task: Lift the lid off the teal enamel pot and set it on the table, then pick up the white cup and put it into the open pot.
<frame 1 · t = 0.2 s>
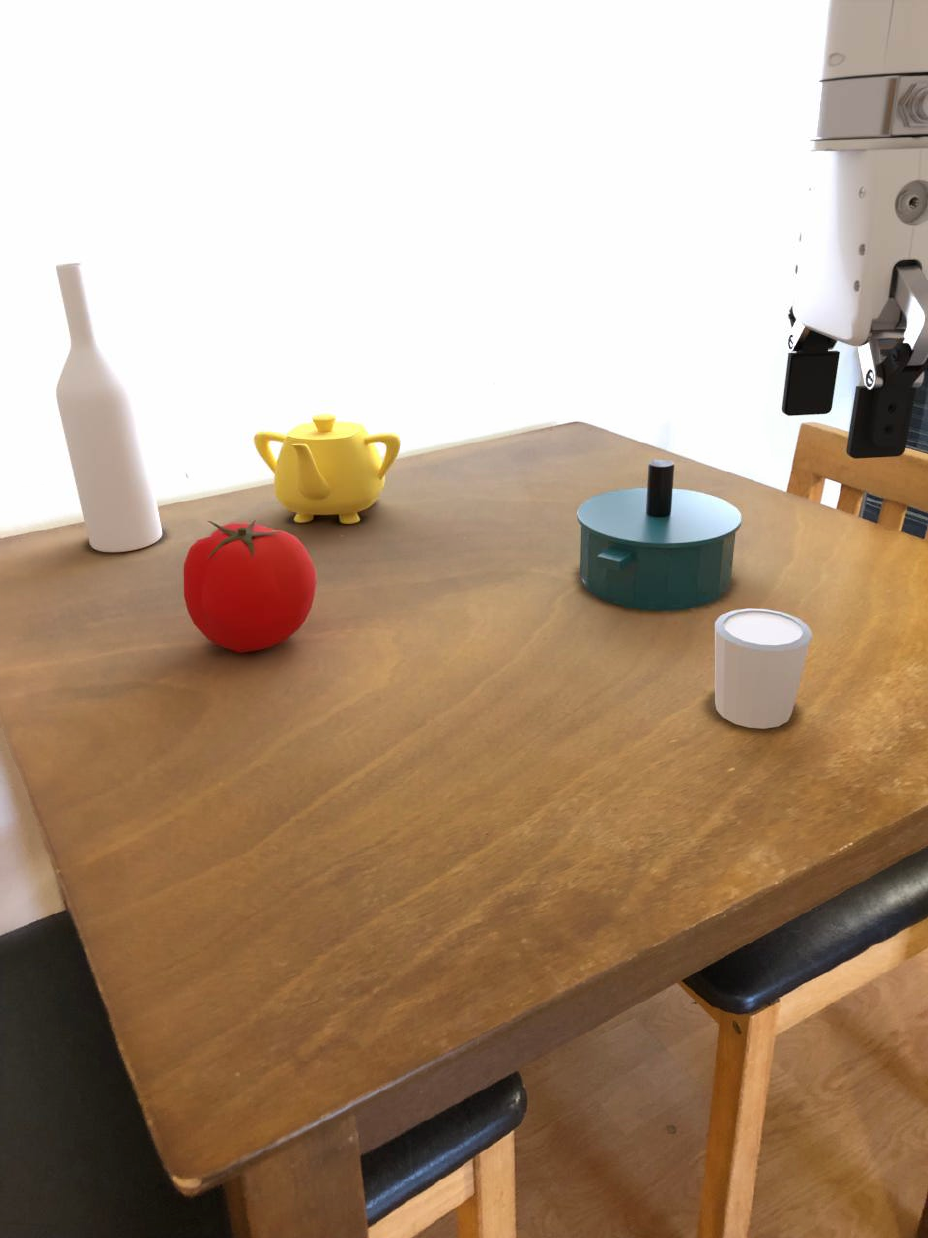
hand: (837, 433, 58), 23 cm above the table, tool pointing down, fingers open, 9 cm apart
pot: (654, 579, 93), on the table
teapot: (329, 518, 113), on the table
bottle: (127, 541, 108), on the table
tomato: (258, 642, 84), on the table
lid: (658, 517, 91), point 6 cm above the table, touching pot
white cup: (752, 710, 72), on the table
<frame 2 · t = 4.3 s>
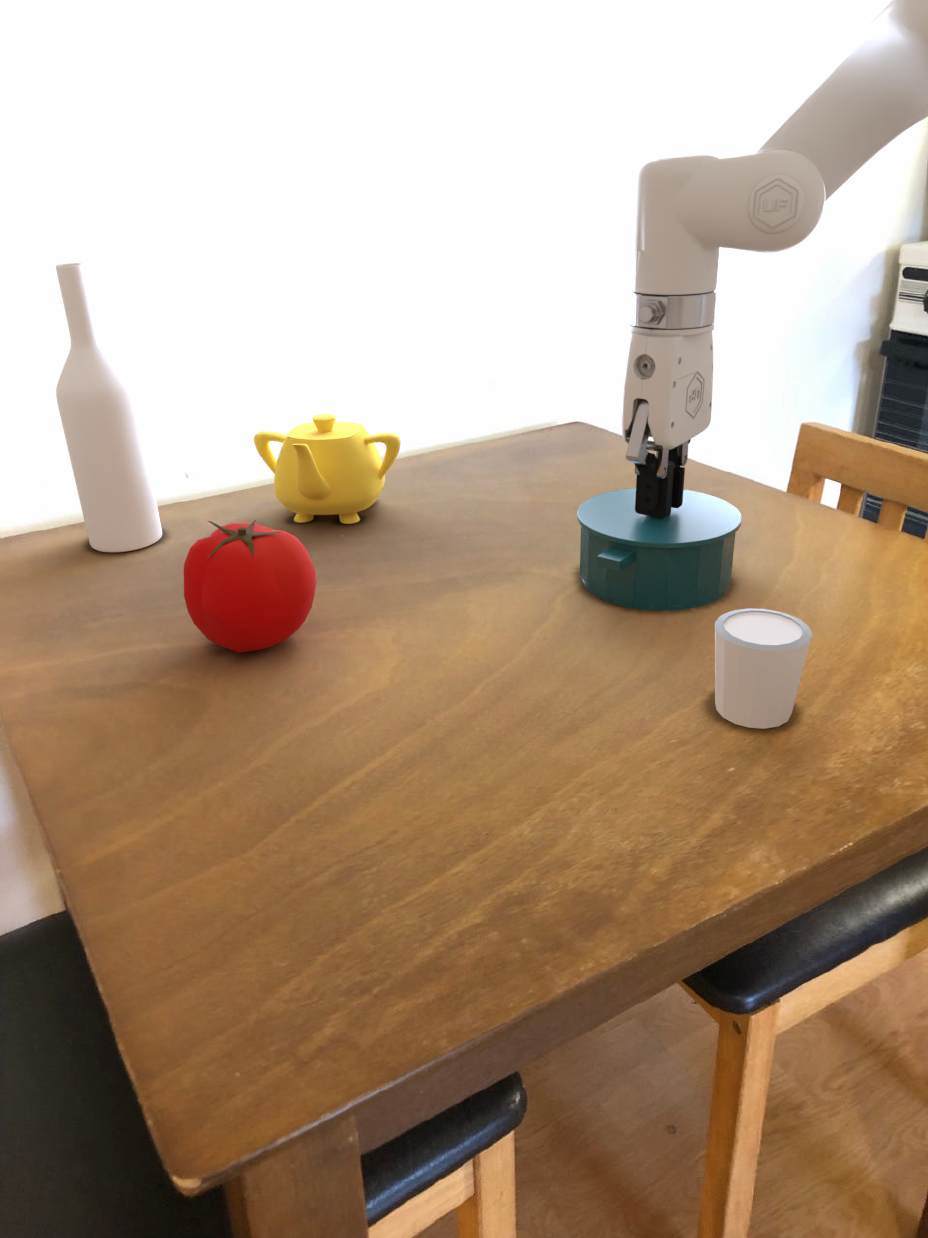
hand: (658, 508, 90), 7 cm above the table, tool pointing down, fingers closed on lid, 2 cm apart
lid: (657, 517, 91), point 7 cm above the table, touching gripper, pot
everything else where it was.
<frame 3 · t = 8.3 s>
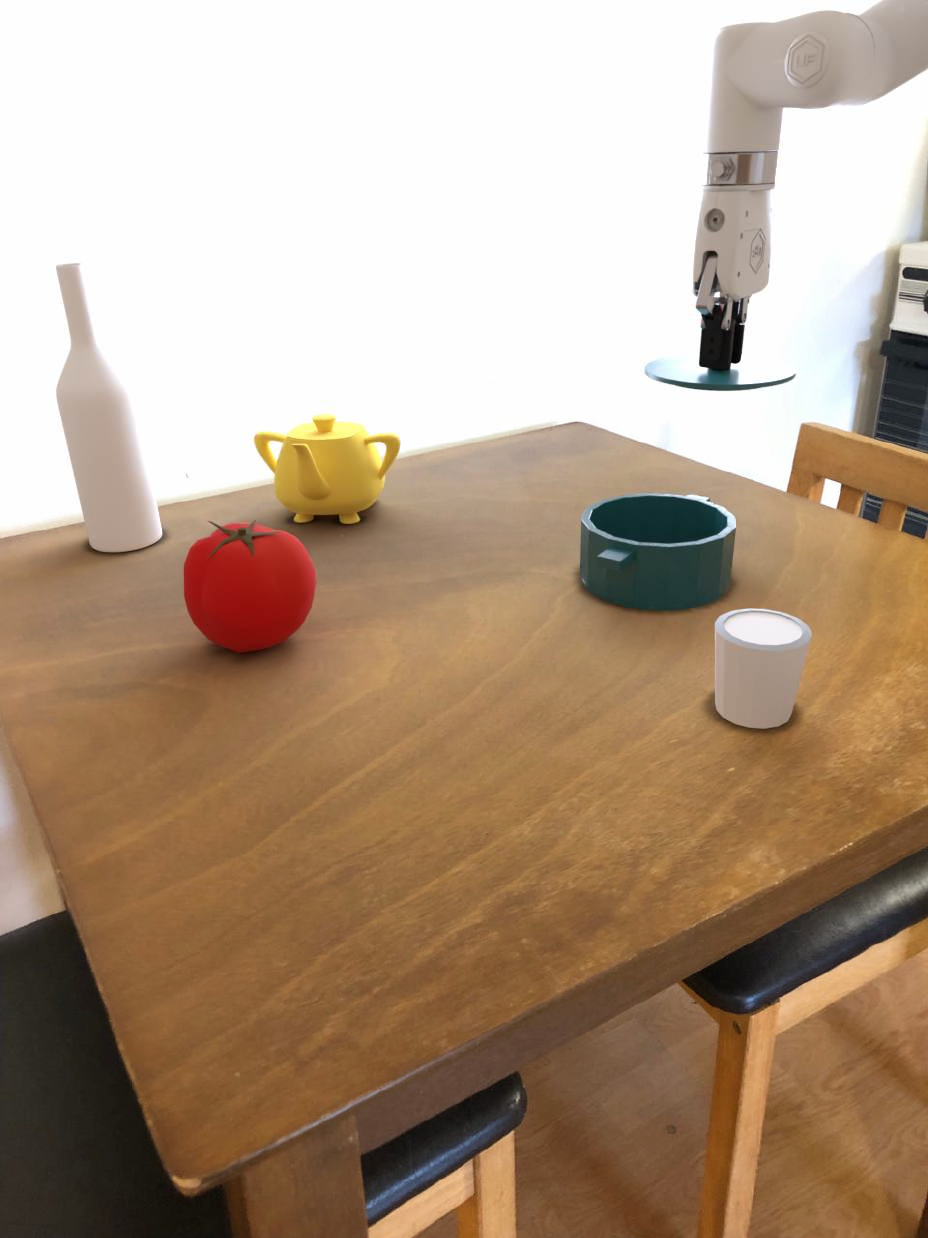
hand: (719, 363, 99), 18 cm above the table, tool pointing down, fingers closed on lid, 2 cm apart
lid: (718, 372, 100), point 17 cm above the table, touching gripper
everything else where it was.
when the fingers open (2 cm above the table, at t = 12.0 s): lid stays where it is, point 1 cm above the table.
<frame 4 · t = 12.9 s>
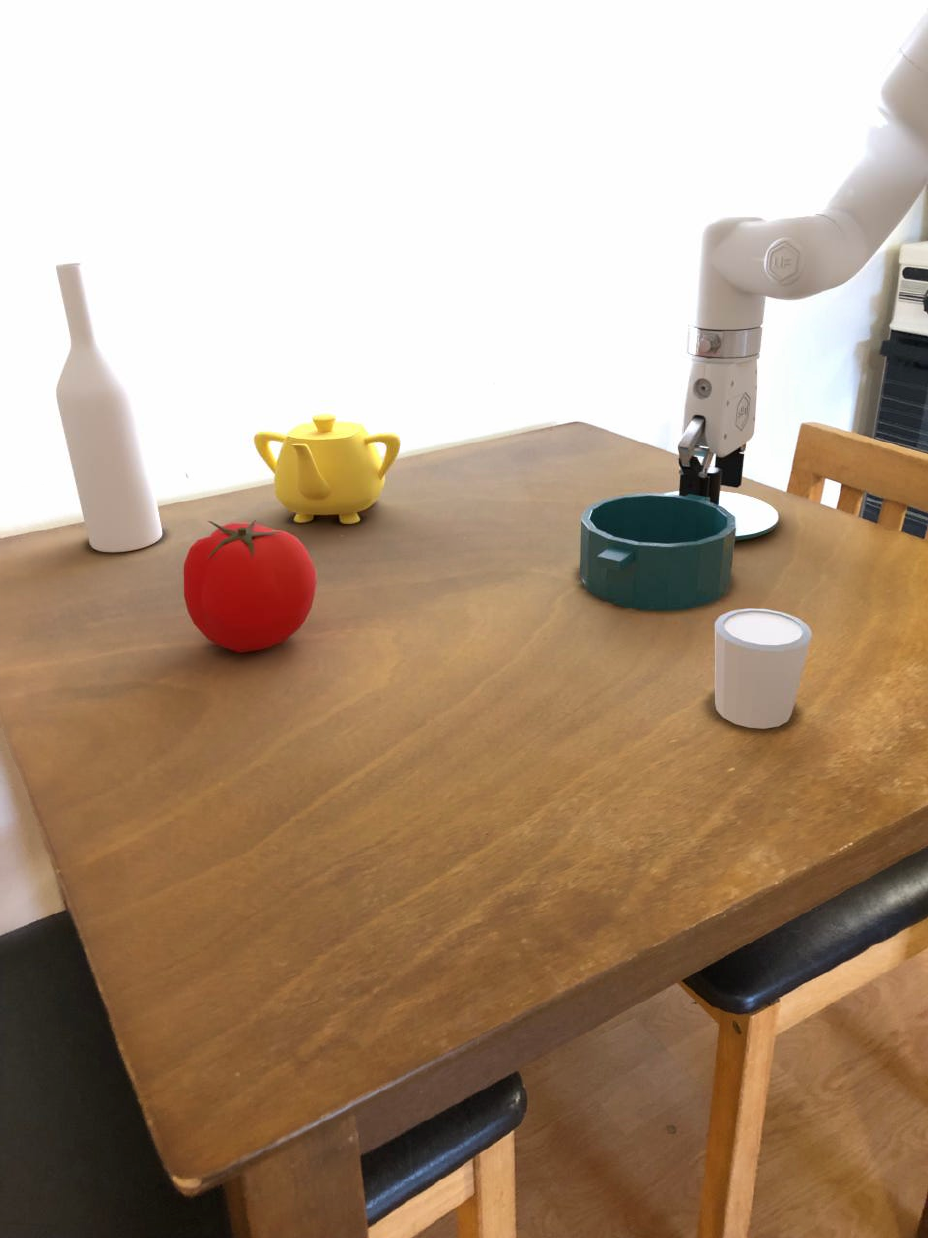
hand: (710, 497, 106), 3 cm above the table, tool pointing down, fingers open, 9 cm apart
lid: (707, 516, 107), point 1 cm above the table
everything else where it was.
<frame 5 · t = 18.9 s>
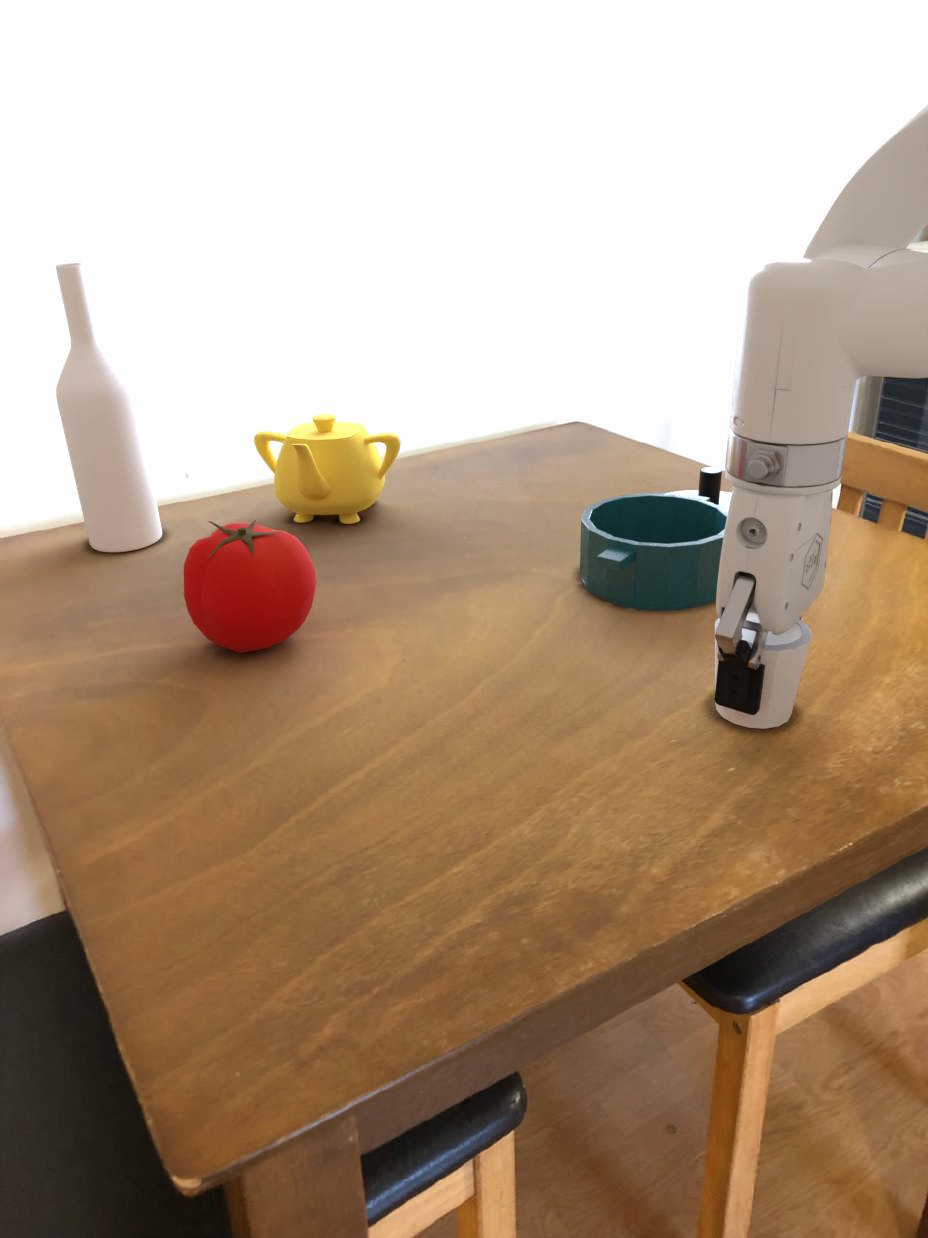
hand: (755, 684, 70), 2 cm above the table, tool pointing down, fingers closed on white cup, 6 cm apart
white cup: (752, 710, 72), on the table, touching gripper
everything else where it was.
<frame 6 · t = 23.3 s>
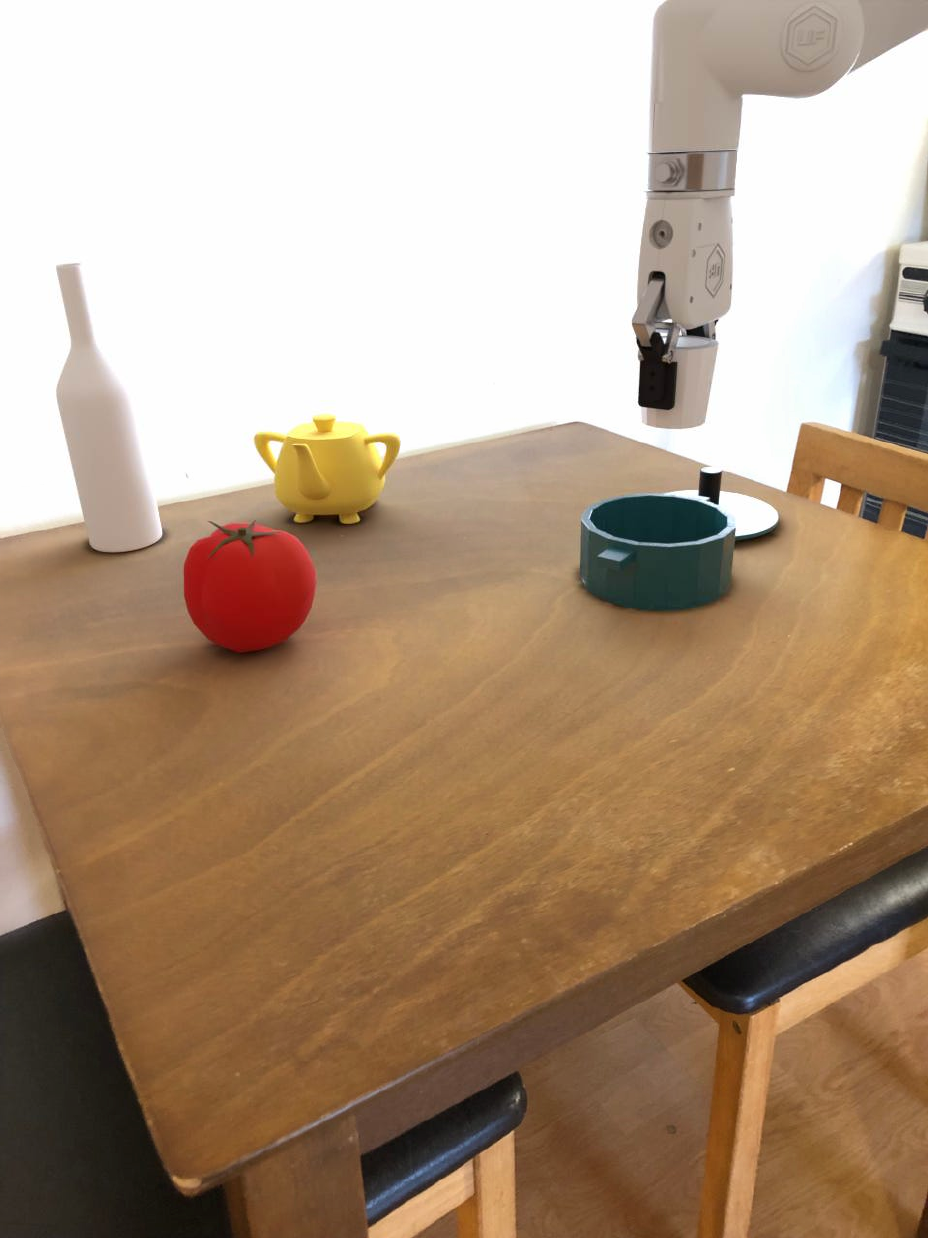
hand: (674, 396, 83), 19 cm above the table, tool pointing down, fingers closed on white cup, 6 cm apart
white cup: (672, 422, 84), point 16 cm above the table, touching gripper
everything else where it was.
when the fingers open (3 cm above the table, at t = 27.7 s): white cup stays where it is, resting on pot.
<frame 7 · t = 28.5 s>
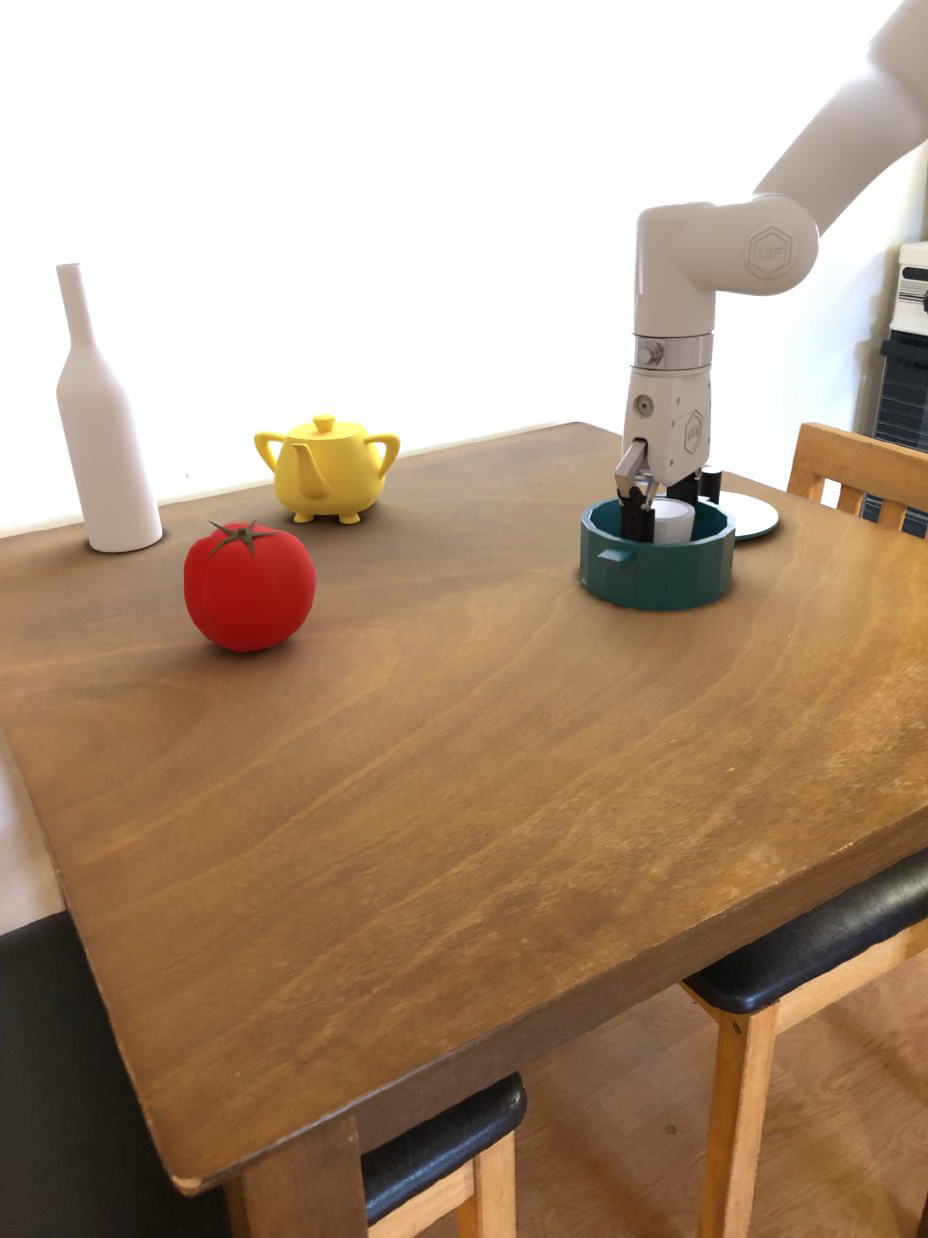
hand: (659, 530, 91), 5 cm above the table, tool pointing down, fingers open, 9 cm apart
white cup: (654, 576, 93), resting on pot
everything else where it was.
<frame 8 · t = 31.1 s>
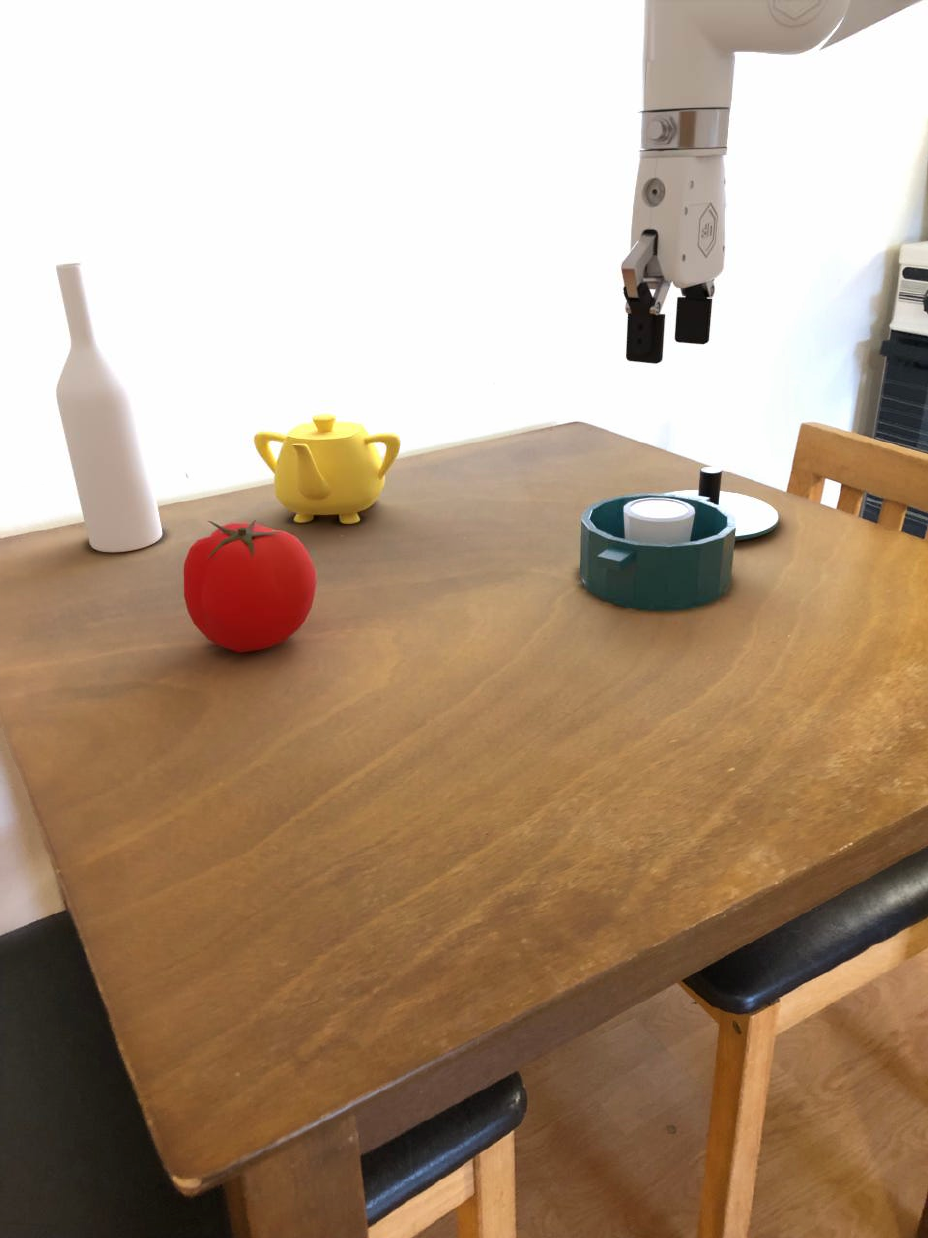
hand: (668, 351, 84), 22 cm above the table, tool pointing down, fingers open, 9 cm apart
nothing on the table moved.
at the end: lid inside the target area (0.1 cm from its centre), point 0.6 cm above the table; white cup inside the target area in the pot (0.0 cm from its centre), point 0.3 cm above the pot's base; white cup tilted 0° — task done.
